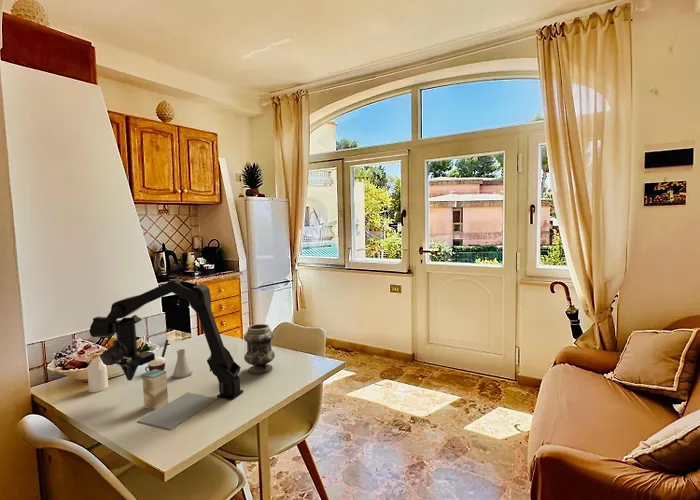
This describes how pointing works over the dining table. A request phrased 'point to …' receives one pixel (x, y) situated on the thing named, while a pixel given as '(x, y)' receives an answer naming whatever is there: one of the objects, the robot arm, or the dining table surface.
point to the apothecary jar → (259, 348)
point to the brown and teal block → (155, 389)
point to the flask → (182, 365)
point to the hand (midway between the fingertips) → (130, 380)
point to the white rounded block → (97, 375)
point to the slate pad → (177, 411)
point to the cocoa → (158, 361)
